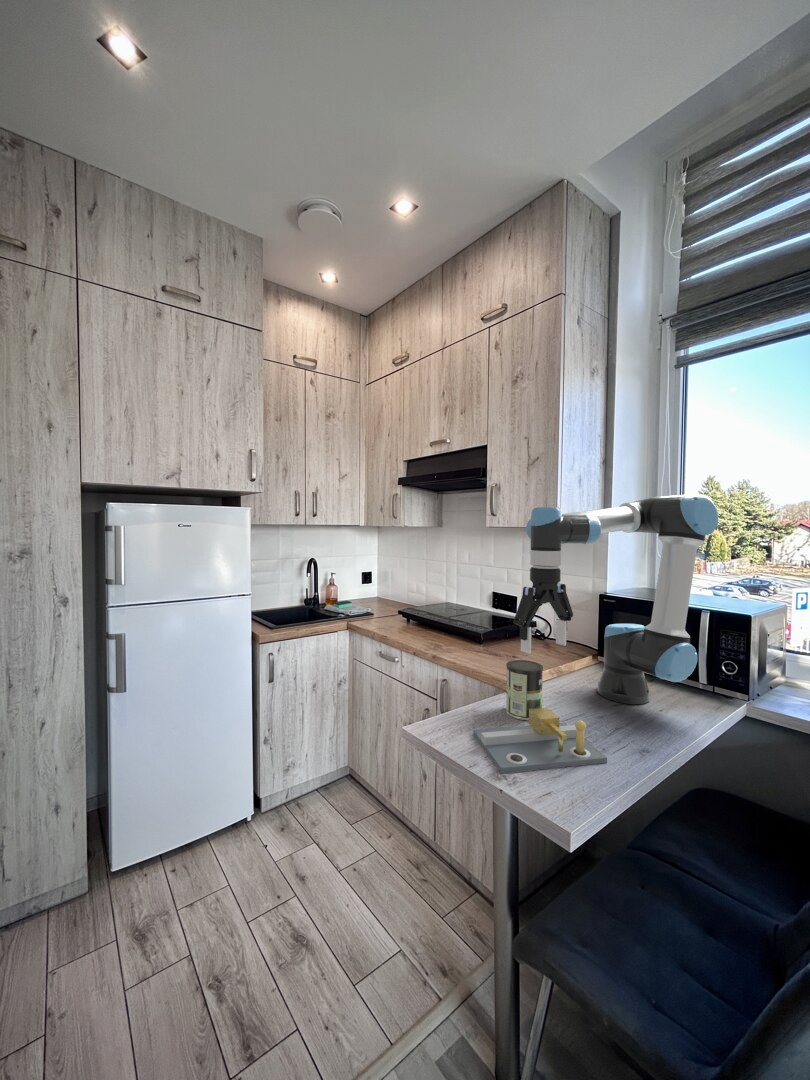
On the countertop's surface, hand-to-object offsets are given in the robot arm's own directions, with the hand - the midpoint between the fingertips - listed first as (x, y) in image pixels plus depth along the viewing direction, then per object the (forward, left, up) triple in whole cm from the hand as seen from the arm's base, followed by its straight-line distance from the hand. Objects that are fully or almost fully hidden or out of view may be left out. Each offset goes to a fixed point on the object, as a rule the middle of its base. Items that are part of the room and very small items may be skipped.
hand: (544, 648), depth 112 cm
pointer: (+2, +7, -21) cm, 22 cm away
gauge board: (+5, +6, -23) cm, 24 cm away
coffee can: (-1, -13, -23) cm, 26 cm away
